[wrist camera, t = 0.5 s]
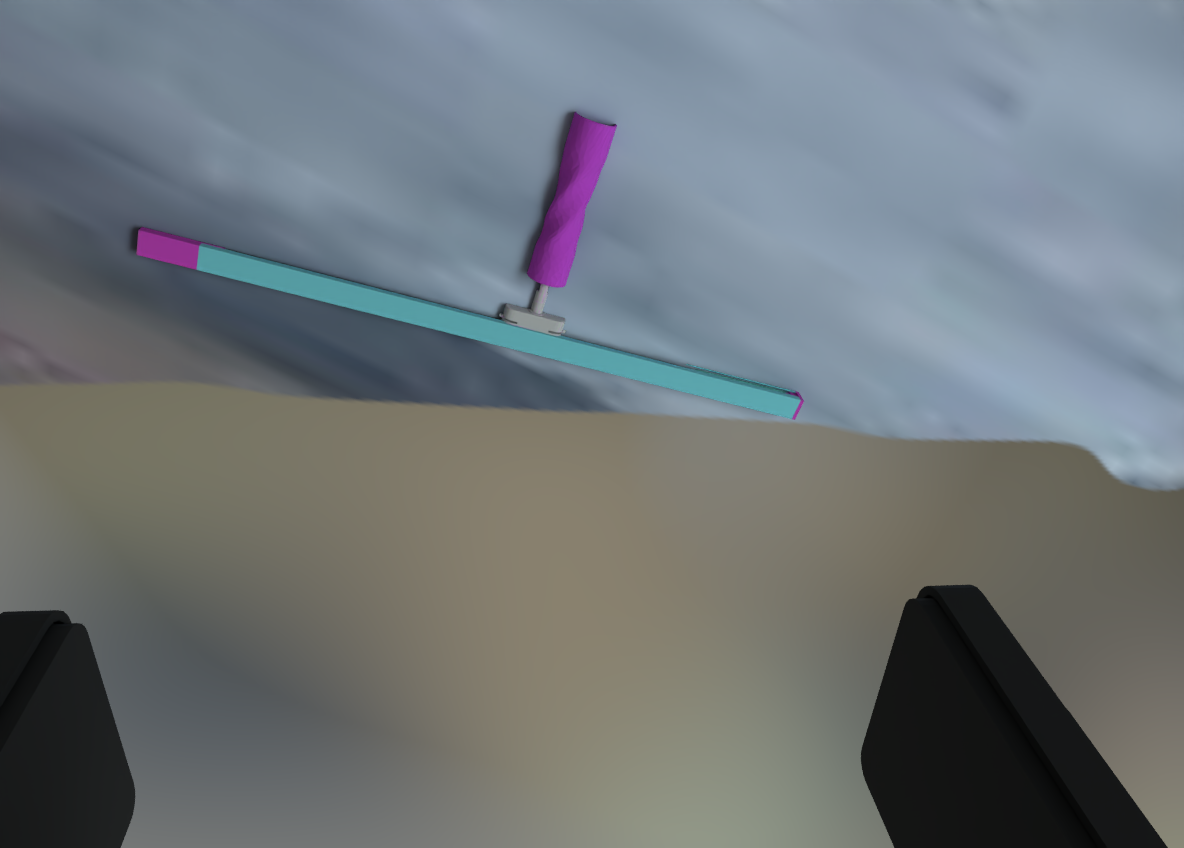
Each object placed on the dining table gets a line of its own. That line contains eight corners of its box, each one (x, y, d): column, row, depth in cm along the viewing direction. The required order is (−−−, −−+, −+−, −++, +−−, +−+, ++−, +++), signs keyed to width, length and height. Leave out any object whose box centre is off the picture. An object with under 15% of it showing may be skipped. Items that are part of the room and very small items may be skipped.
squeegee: (896, 217, 36) (796, 422, 41) (880, 206, 38) (786, 405, 42) (155, -18, 30) (133, 257, 34) (171, -21, 31) (148, 243, 36)
